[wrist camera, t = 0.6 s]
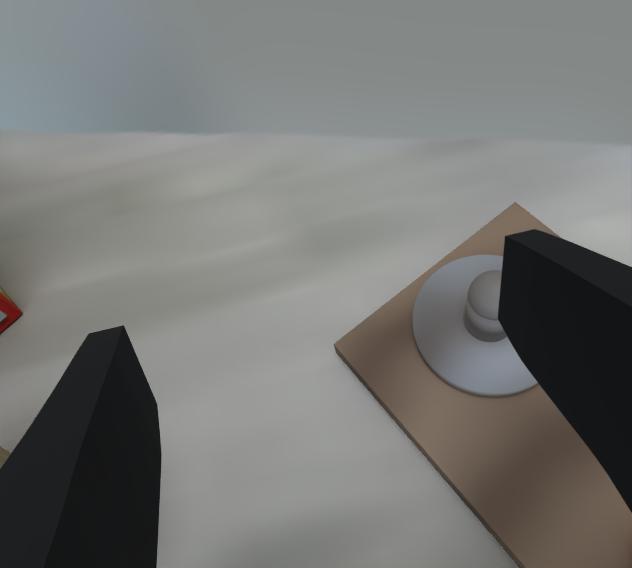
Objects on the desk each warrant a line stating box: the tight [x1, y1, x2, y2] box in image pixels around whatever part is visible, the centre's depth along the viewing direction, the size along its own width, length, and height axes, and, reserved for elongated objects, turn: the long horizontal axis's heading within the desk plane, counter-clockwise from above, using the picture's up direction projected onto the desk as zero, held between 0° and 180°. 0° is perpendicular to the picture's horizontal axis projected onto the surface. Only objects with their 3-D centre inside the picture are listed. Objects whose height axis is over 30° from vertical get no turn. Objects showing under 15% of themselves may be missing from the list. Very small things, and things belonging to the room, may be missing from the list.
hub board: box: [334, 202, 632, 568], centre depth 22 cm, size 21×12×6 cm, turn 37°
